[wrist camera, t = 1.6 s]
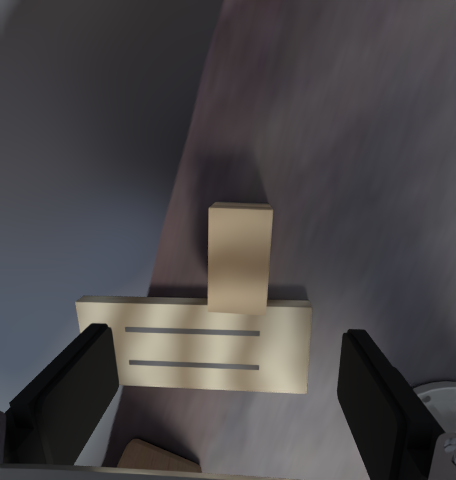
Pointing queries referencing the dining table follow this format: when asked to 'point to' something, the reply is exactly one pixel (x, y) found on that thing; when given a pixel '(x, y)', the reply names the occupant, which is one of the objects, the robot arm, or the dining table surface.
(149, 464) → the wooden block
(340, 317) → the dining table surface
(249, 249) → the block
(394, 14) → the dining table surface
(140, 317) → the birch plank
